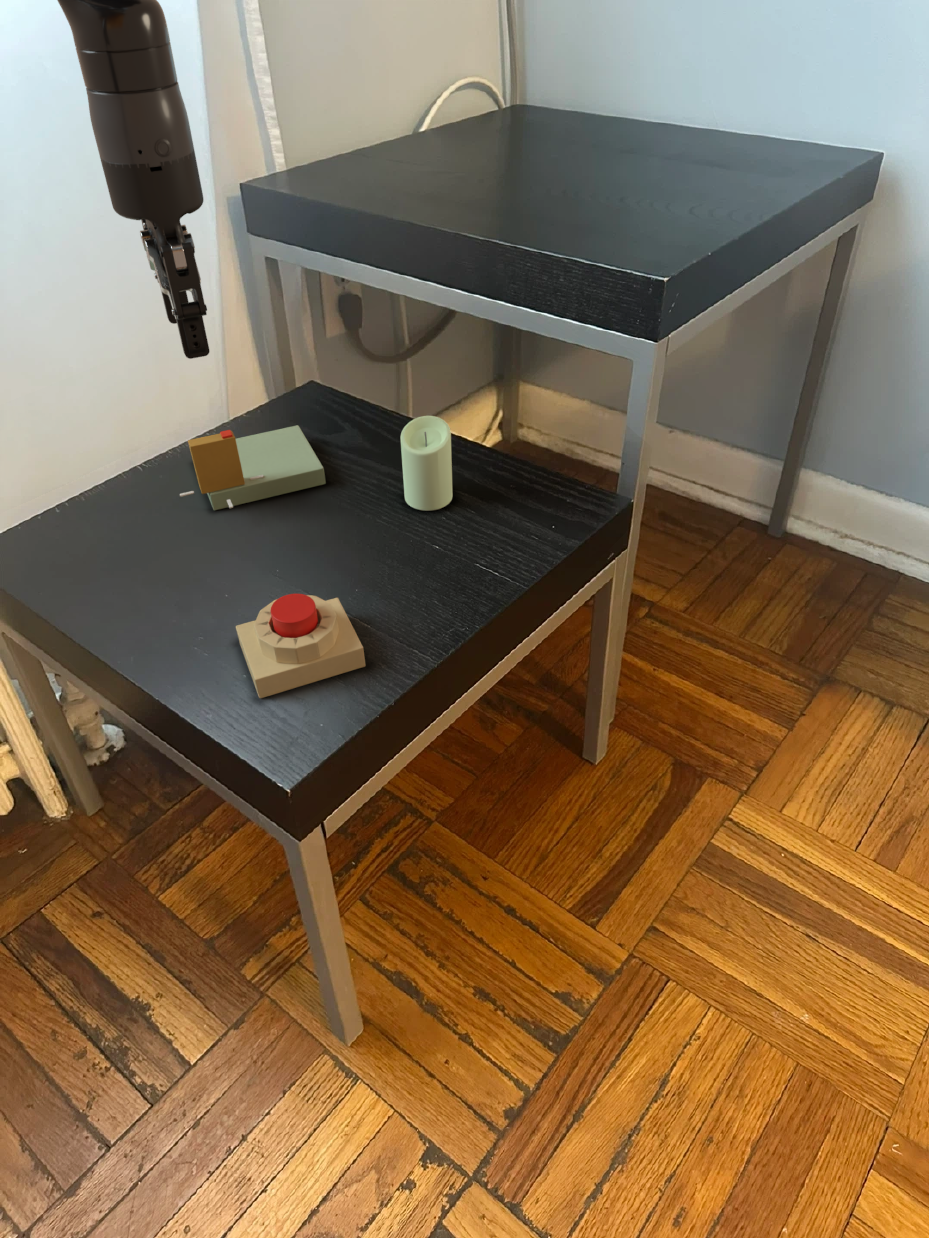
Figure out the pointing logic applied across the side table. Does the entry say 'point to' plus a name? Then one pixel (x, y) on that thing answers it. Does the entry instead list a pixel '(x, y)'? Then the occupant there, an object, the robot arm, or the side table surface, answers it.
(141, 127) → the robot arm
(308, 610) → the button
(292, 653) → the button box
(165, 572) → the side table surface
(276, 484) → the plate
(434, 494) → the candle
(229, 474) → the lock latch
